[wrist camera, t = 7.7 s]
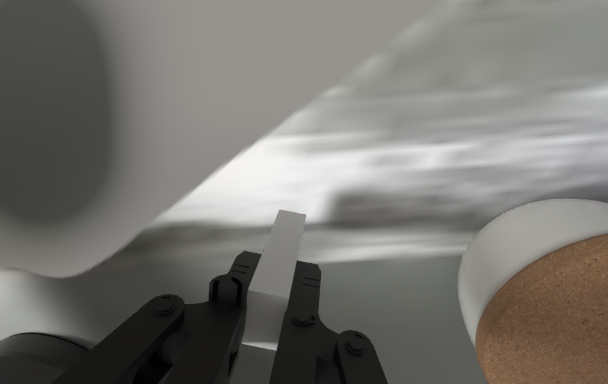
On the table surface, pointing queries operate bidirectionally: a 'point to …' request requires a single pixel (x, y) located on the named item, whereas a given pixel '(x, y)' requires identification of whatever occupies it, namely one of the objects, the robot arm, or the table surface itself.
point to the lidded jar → (539, 293)
